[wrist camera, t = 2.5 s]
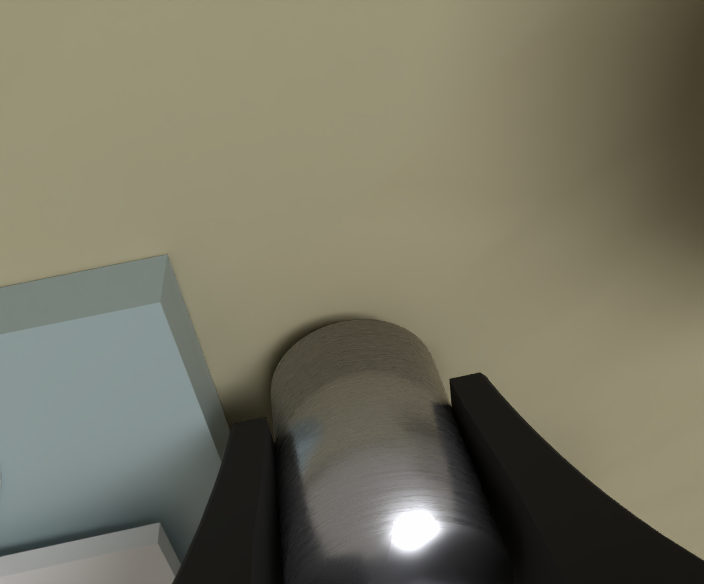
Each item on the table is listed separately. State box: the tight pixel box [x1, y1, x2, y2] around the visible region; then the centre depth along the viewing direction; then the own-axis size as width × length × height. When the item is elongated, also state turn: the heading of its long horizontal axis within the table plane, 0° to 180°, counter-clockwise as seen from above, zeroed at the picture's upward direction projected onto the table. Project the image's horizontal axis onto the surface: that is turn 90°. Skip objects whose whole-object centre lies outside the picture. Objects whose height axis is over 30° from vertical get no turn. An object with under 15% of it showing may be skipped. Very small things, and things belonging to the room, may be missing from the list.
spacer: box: [271, 319, 515, 584], centre depth 13 cm, size 4×4×5 cm
